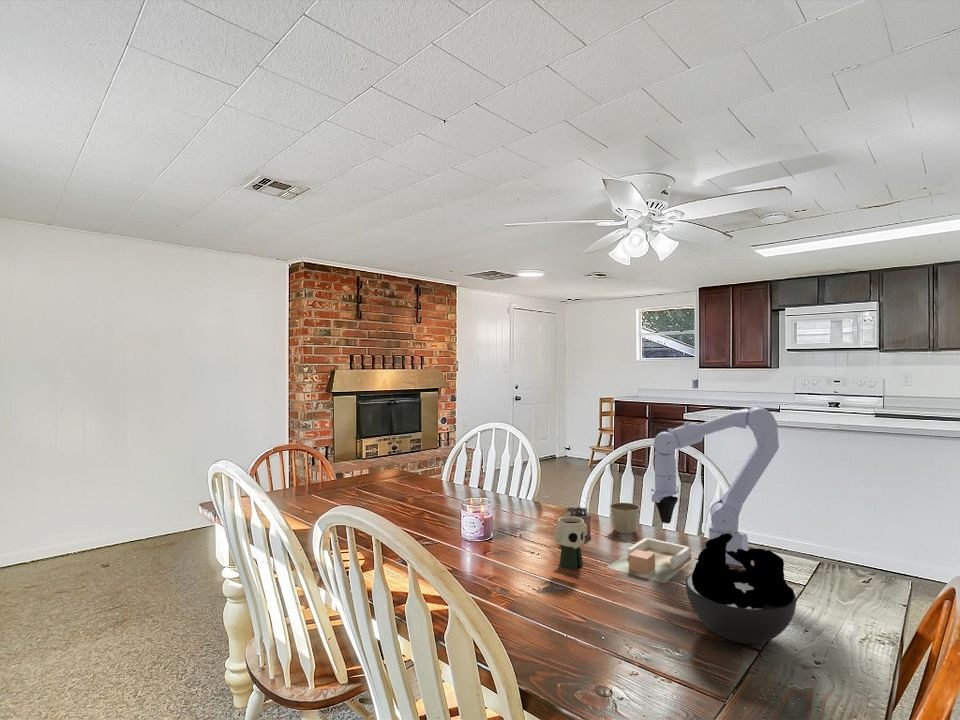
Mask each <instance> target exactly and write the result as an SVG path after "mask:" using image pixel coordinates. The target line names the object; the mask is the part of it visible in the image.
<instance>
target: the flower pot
mask: <svg viewBox="0 0 960 720" xmlns="http://www.w3.org/2000/svg"><path fill="white" fill-rule="evenodd" d="M609 508H610V512H611V513H612V519H613V520H612V521H613V526H614V531H616V532H617V533H622V534H634V533H635V532H636V528H637V519H638V514H639V511H640V509H641V507H640V506H639V504H638V505H637V504H635V503H629V502H615V503H611V504H610V505H609Z"/></svg>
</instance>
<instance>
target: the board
mask: <svg viewBox="0 0 960 720" xmlns="http://www.w3.org/2000/svg"><path fill="white" fill-rule="evenodd" d="M644 551H646V552H650V553H654V554H655V569H654V570H653V571H652V572H650V573H649V574H648V575H646V574H642V573H638V572H634V571H631V570H629V558H628V553H626V554H625V555H622V556H621V557H619V558H618V559H616V560H615V561H613V562H612V563H610V564H609V565H607V566H605V568H606V569H611V570H613V571H617V572H621V573H625V574H629V575H632V576H636V577H640V578H643V579H646V580H652V581H656V582H660V583H663V584H665V583H667V582H668V581H669V580H671V579H672V578H673V577H674V576H676V574H678V573H679V572H681V571H682V570H683V569H684V568H685V567H687V566H688V565H689V564H691V563H692V562H693V561H694V560H695V559H696V558H697V557H696V556H692V555H691V556H690V557H689V558H688V559H687V560H685V561H684V562H683V563H681V564H680V565H679V566H678V567H676V568H675V569H671V568H670V559H671V558H672V557H673V556H675V555H676V554H673V553H668V552H664V551H660V550H655V549H651V548H647V549H645V550H644Z"/></svg>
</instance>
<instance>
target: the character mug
mask: <svg viewBox="0 0 960 720" xmlns="http://www.w3.org/2000/svg"><path fill="white" fill-rule="evenodd" d="M553 535H554V537H553V538H554V539H553V540H554V542H555V543H557V542H558V544H559V545H561V551H560V558H559V566H560V567H561V568H564V569H568V570H577V569H578V567H579V569H582V568H583V567H584V565H583V564H584V562H583V556H582V555H583V554H582V549H581V547H582V546H583V545H584V543H585V542H586V540H585V536H586V535H587V525H586V524H584V520H583V519H581V518H578V517H568V516H567V517H565V516H562V517H559V518H558V519H557V529H554V534H553Z"/></svg>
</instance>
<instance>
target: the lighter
mask: <svg viewBox="0 0 960 720" xmlns="http://www.w3.org/2000/svg"><path fill="white" fill-rule="evenodd" d="M566 512H568V513H564V517H567V516H568V517H578V518H581V519H583V520H584V524H586V525H587V535H586V536H585V541H591V540H592V535H591V518H592V515H591V514H589V513H587V512H588V508H587V507H581V506H579V505H578V506H576V507H575V506H567V507H566ZM569 512H570V513H569Z"/></svg>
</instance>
